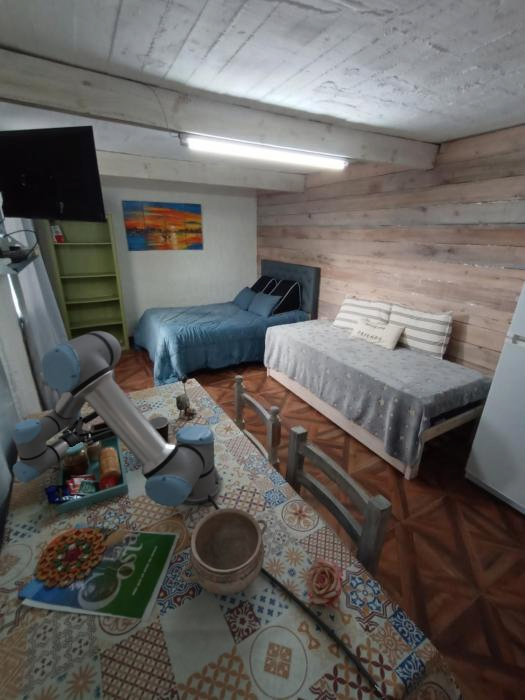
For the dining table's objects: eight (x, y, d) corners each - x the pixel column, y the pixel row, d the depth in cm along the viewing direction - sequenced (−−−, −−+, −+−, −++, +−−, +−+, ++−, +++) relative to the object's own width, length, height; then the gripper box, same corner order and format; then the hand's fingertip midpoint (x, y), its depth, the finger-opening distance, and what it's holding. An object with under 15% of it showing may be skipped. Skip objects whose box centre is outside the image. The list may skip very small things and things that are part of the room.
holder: (134, 429, 139) (133, 423, 138) (94, 441, 131) (93, 435, 130) (130, 420, 146) (129, 414, 145) (91, 431, 137) (90, 425, 136)
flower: (322, 557, 85) (311, 550, 80) (355, 575, 79) (345, 568, 74) (309, 598, 80) (296, 592, 76) (342, 619, 74) (331, 615, 70)
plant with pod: (171, 418, 148) (168, 380, 141) (190, 408, 157) (187, 371, 150) (183, 424, 144) (180, 385, 137) (201, 413, 152) (199, 376, 145)
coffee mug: (167, 449, 127) (165, 428, 123) (146, 449, 127) (143, 428, 124) (175, 432, 138) (173, 412, 134) (155, 431, 138) (153, 412, 134)
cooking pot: (202, 639, 69) (199, 603, 64) (168, 570, 83) (163, 536, 78) (287, 569, 83) (289, 536, 79) (245, 520, 97) (246, 489, 93)
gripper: (41, 446, 119) (89, 417, 138) (91, 464, 111) (134, 431, 129) (37, 429, 116) (86, 402, 135) (87, 446, 108) (132, 415, 127)
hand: (109, 416), depth 132 cm, fingers open, 13 cm apart
